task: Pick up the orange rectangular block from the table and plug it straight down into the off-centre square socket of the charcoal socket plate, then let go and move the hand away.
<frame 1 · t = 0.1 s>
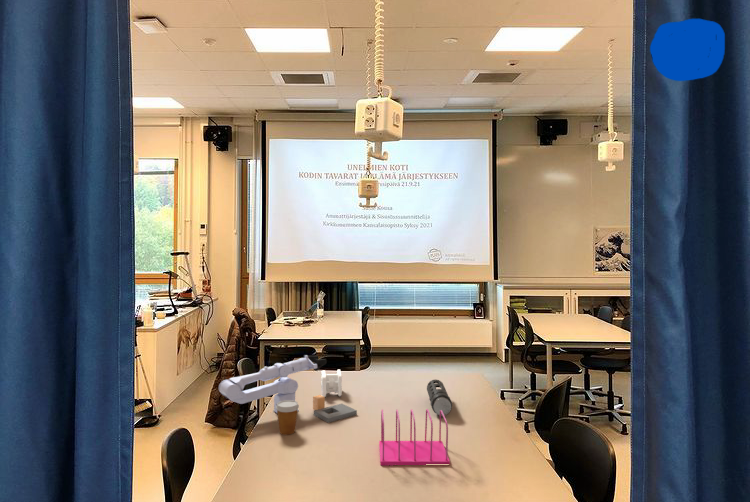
hand: (322, 359, 233), 22 cm above the table, tool horizontal, fingers open, 7 cm apart
orange rectangular block: (318, 409, 224), on the table
perforated grey cylinder: (438, 408, 227), on the table
disposable coffee cup: (287, 432, 197), on the table
cable organizer: (331, 394, 246), on the table
socket plate: (335, 414, 217), on the table
file sorter: (412, 455, 176), on the table
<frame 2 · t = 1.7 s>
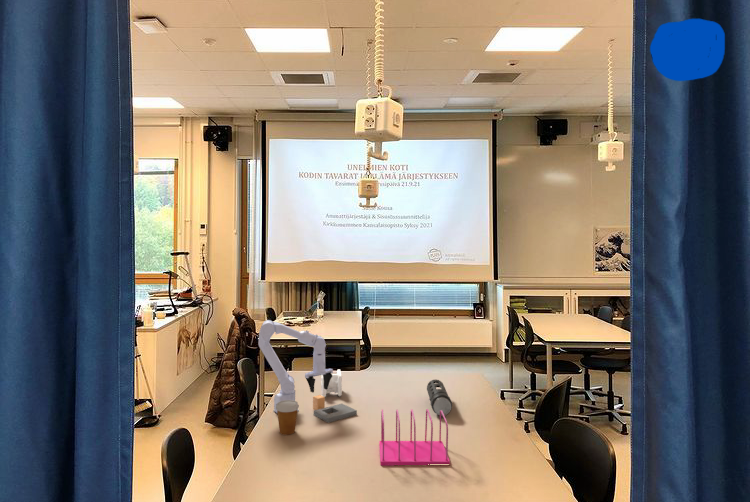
hand: (319, 390, 224), 9 cm above the table, tool pointing down, fingers open, 7 cm apart
nothing on the table moved.
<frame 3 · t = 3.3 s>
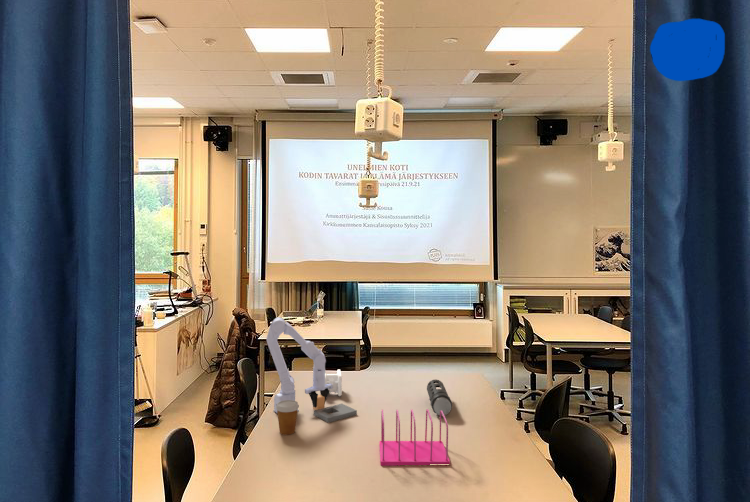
hand: (318, 405, 224), 2 cm above the table, tool pointing down, fingers closed on orange rectangular block, 4 cm apart
orange rectangular block: (318, 409, 224), on the table, touching gripper
everything else where it was.
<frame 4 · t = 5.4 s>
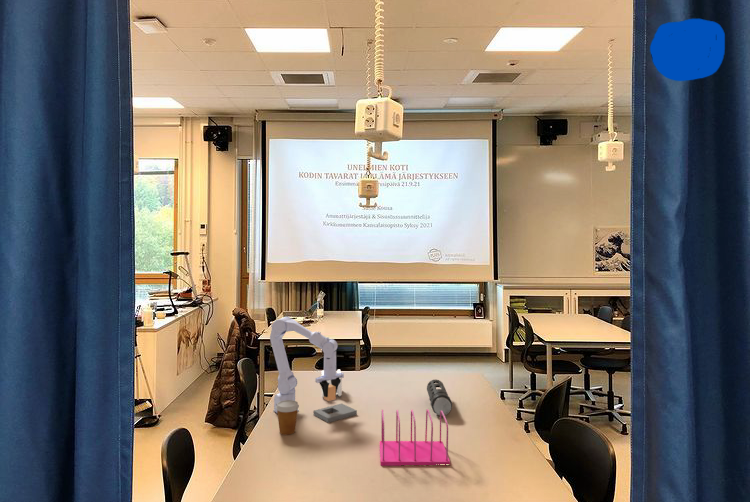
hand: (329, 395, 217), 9 cm above the table, tool pointing down, fingers closed on orange rectangular block, 4 cm apart
orange rectangular block: (329, 399, 217), point 7 cm above the table, touching gripper
everything else where it was.
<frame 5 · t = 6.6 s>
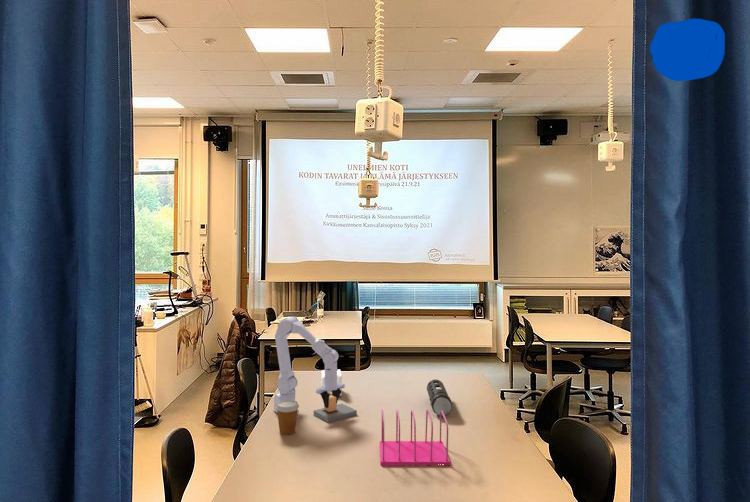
hand: (330, 406, 216), 4 cm above the table, tool pointing down, fingers closed on orange rectangular block, 4 cm apart
orange rectangular block: (330, 409, 216), point 2 cm above the table, touching gripper
everything else where it was.
when the fingers open (3 cm above the table, at t = 7.4 s): orange rectangular block drops 1 cm, resting in socket plate.
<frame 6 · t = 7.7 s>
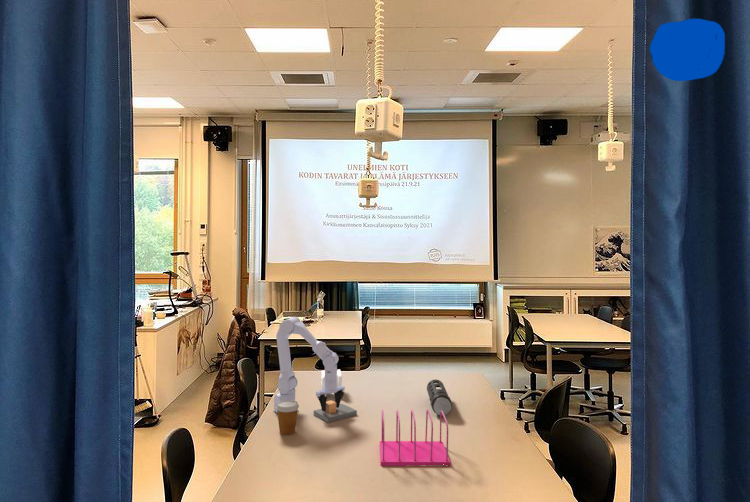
hand: (330, 408, 216), 3 cm above the table, tool pointing down, fingers open, 7 cm apart
orange rectangular block: (330, 415, 216), resting in socket plate
everything else where it was.
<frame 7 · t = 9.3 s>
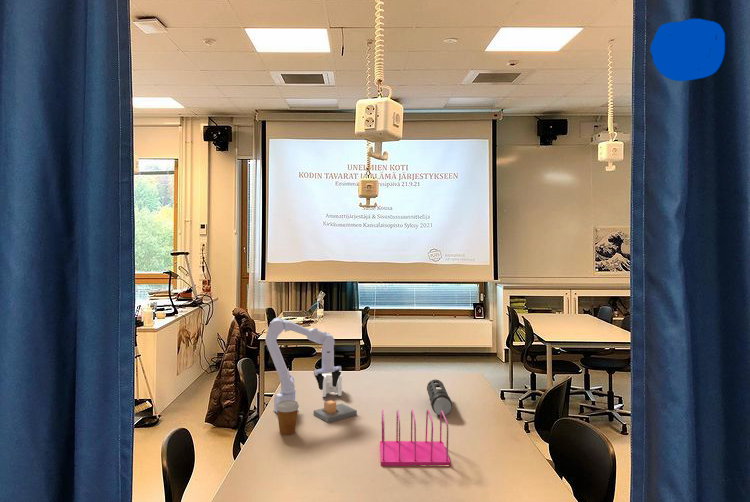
hand: (327, 387, 225), 10 cm above the table, tool pointing down, fingers open, 7 cm apart
nothing on the table moved.
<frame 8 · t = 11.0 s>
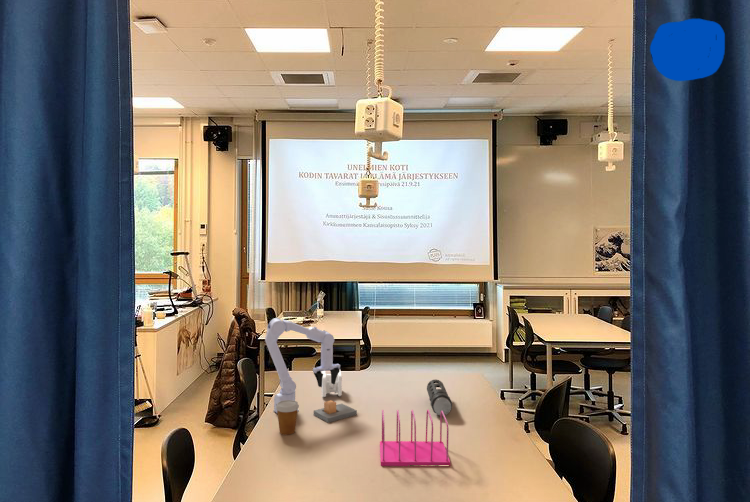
hand: (326, 385, 228), 10 cm above the table, tool pointing down, fingers open, 7 cm apart
nothing on the table moved.
at the end: orange rectangular block 0.2 cm from the target spot on the socket plate, point 0.0 cm above the socket plate's base; orange rectangular block tilted 0°; the gripper is holding nothing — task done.
